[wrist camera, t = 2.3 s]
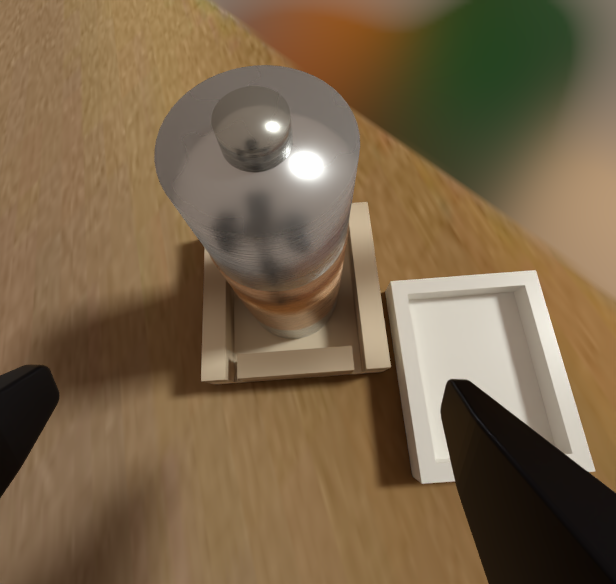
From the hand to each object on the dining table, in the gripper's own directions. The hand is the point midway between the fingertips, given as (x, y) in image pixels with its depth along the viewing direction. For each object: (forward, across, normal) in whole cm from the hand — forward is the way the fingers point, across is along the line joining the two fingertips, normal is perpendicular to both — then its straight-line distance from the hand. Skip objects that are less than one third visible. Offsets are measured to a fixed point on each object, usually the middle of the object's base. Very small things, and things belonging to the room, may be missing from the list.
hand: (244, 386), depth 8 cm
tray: (+10, -10, +7) cm, 16 cm away
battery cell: (+12, 0, +4) cm, 13 cm away
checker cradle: (+13, 0, +4) cm, 13 cm away
